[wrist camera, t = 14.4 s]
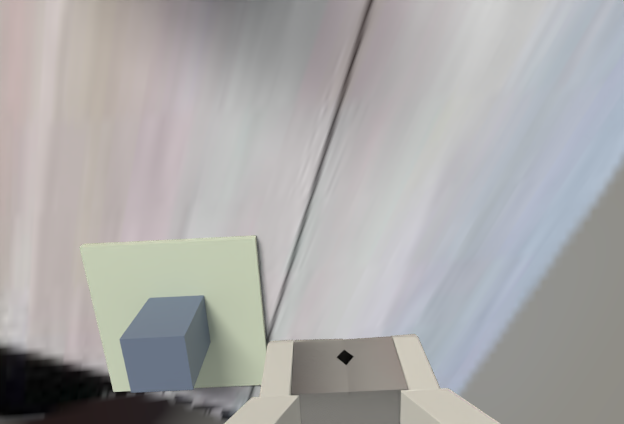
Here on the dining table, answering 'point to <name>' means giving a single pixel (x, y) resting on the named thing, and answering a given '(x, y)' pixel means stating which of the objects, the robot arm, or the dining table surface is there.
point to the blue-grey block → (166, 344)
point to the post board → (183, 282)
